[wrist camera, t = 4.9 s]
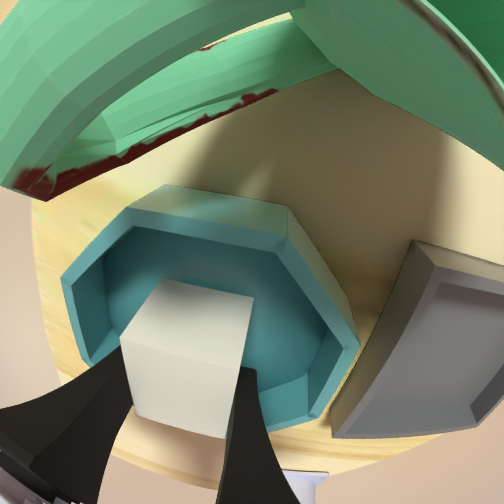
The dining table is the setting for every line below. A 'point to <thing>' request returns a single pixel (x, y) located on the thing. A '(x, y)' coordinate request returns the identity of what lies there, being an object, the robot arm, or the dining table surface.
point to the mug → (226, 73)
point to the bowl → (223, 289)
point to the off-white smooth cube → (186, 355)
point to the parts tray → (429, 351)
